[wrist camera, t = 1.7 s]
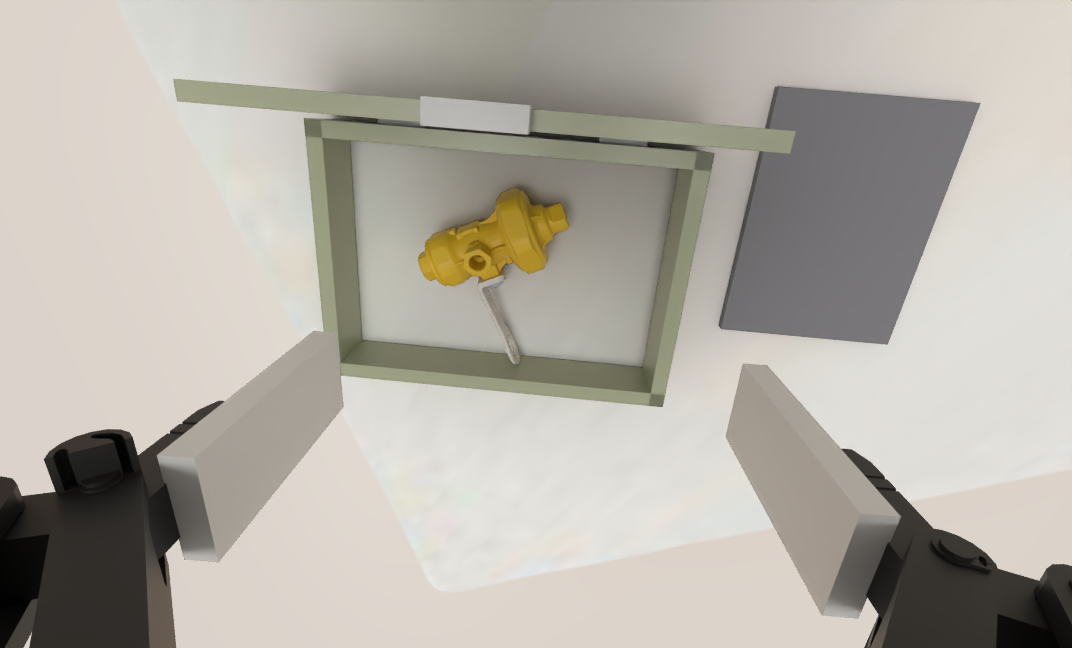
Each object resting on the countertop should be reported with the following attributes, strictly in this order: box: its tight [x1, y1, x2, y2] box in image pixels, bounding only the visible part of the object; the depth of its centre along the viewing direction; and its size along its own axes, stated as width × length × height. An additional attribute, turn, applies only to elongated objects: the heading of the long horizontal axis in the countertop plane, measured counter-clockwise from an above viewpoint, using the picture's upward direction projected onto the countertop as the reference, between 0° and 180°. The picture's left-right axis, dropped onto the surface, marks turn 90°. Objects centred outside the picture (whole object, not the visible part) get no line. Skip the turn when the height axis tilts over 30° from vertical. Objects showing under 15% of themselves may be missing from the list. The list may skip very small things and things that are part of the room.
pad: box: [719, 87, 980, 345], centre depth 33 cm, size 16×12×1 cm
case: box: [173, 79, 796, 407], centre depth 28 cm, size 18×24×15 cm
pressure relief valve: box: [418, 187, 569, 365], centre depth 34 cm, size 6×12×10 cm
